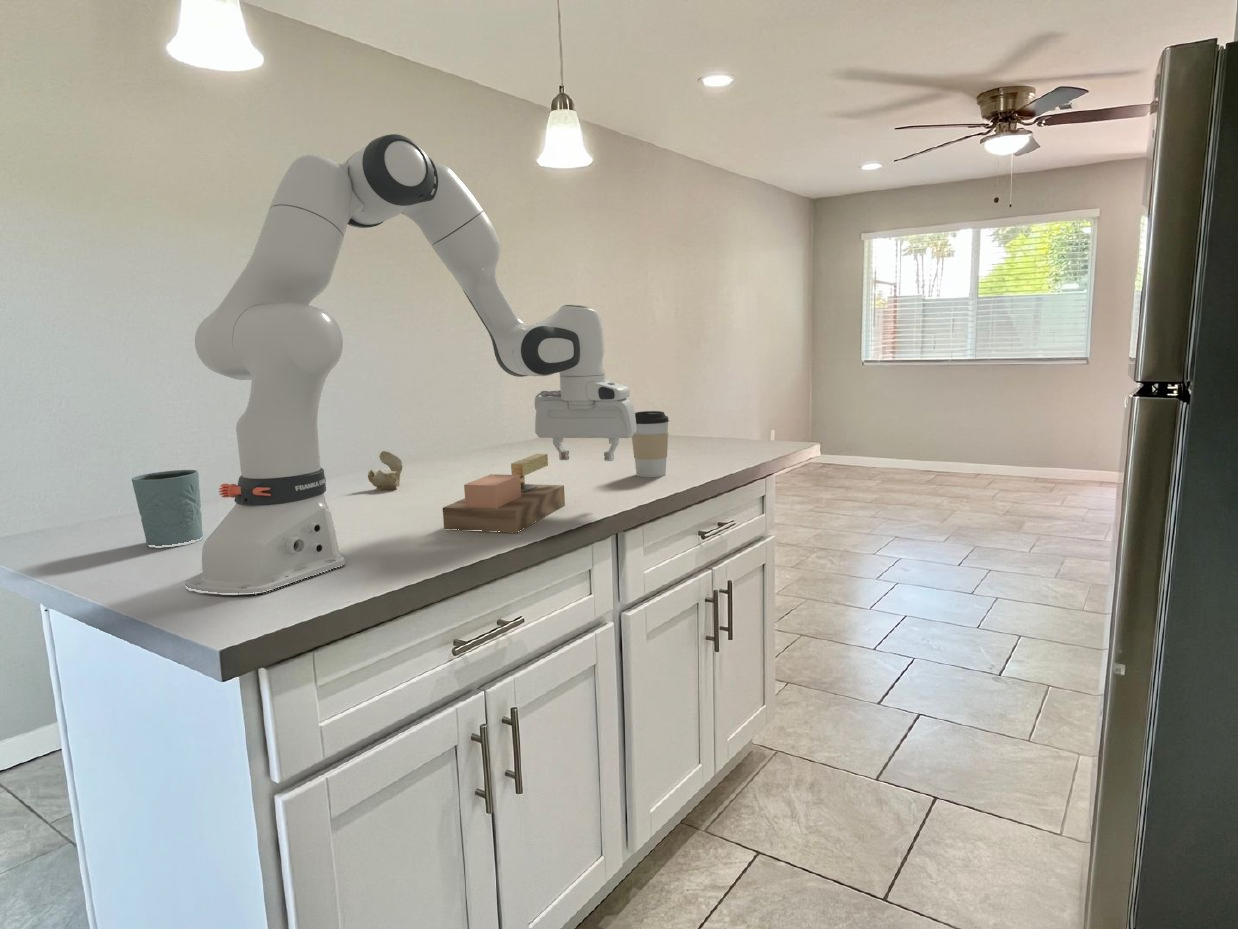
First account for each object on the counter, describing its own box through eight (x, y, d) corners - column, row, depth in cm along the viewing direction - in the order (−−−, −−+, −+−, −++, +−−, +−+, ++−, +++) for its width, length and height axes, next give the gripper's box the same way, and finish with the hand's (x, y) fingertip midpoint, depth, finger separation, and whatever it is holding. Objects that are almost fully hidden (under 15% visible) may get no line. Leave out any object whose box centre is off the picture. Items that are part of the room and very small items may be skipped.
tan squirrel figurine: (379, 487, 172) (367, 446, 174) (368, 499, 176) (356, 459, 178) (415, 484, 177) (402, 444, 180) (403, 495, 182) (391, 457, 184)
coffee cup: (645, 470, 190) (644, 408, 187) (677, 472, 184) (676, 409, 182) (624, 476, 182) (621, 412, 180) (656, 479, 177) (654, 413, 175)
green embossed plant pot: (173, 551, 130) (163, 480, 128) (126, 548, 133) (116, 479, 131) (220, 535, 140) (211, 469, 138) (175, 533, 143) (166, 468, 141)
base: (516, 533, 133) (515, 509, 133) (444, 529, 138) (442, 506, 137) (564, 505, 154) (563, 484, 153) (500, 502, 158) (499, 482, 158)
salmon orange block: (496, 508, 135) (495, 485, 134) (465, 507, 137) (464, 484, 136) (521, 496, 144) (520, 475, 144) (492, 495, 146) (490, 474, 145)
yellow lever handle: (523, 488, 149) (522, 463, 149) (512, 488, 150) (510, 463, 149) (548, 476, 161) (547, 453, 160) (537, 476, 161) (536, 453, 161)
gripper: (527, 392, 152) (531, 462, 155) (627, 390, 146) (630, 463, 148) (540, 389, 158) (544, 457, 161) (637, 387, 152) (640, 458, 154)
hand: (586, 460), depth 154 cm, fingers open, 8 cm apart
